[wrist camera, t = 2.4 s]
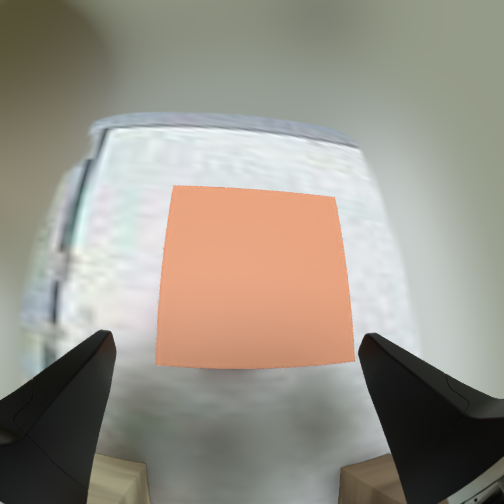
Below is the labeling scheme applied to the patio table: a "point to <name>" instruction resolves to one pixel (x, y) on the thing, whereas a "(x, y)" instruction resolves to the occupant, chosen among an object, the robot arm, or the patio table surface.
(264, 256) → the salmon orange block
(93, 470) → the birch block
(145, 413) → the patio table surface
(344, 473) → the walnut block
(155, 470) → the patio table surface
